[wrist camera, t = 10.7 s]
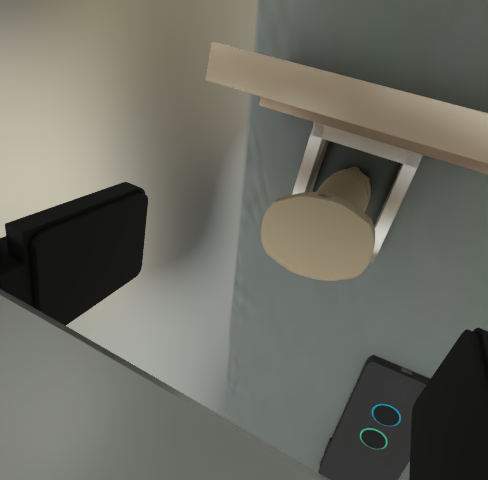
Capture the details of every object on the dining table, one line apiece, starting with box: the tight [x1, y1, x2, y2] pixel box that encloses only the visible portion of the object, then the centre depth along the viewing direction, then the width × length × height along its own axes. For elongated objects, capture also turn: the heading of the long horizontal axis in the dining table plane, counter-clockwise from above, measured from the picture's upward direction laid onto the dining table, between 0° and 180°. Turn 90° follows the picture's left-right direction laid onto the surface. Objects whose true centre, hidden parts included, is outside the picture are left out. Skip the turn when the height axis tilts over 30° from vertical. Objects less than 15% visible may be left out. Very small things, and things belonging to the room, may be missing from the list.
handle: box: [261, 167, 375, 281], centre depth 27 cm, size 5×6×15 cm
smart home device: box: [319, 355, 430, 480], centre depth 42 cm, size 8×2×20 cm
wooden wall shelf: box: [206, 42, 488, 263], centre depth 27 cm, size 13×18×14 cm
